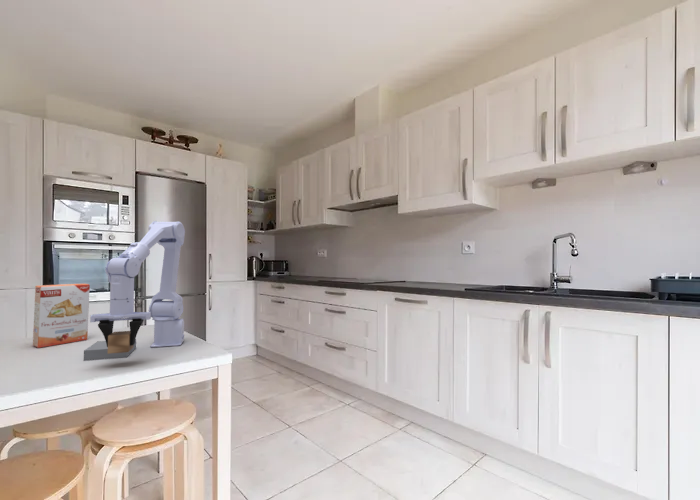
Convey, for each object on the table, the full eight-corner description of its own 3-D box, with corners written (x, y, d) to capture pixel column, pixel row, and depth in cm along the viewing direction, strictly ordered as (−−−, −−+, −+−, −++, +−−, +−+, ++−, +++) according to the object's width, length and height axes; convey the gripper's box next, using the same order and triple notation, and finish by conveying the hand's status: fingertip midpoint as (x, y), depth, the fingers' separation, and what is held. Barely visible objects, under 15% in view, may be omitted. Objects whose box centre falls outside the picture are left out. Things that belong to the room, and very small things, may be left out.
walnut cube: (133, 347, 98) (133, 330, 98) (128, 352, 94) (128, 334, 94) (113, 348, 97) (114, 331, 97) (107, 353, 92) (108, 335, 92)
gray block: (135, 349, 112) (136, 338, 112) (126, 358, 102) (126, 347, 102) (97, 351, 109) (97, 341, 109) (83, 362, 98) (83, 350, 98)
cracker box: (38, 348, 110) (40, 286, 110) (32, 346, 113) (34, 285, 113) (88, 340, 121) (90, 283, 122) (81, 337, 125) (83, 282, 125)
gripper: (86, 301, 89) (84, 351, 89) (147, 299, 94) (146, 347, 94) (96, 298, 96) (95, 344, 96) (152, 296, 101) (151, 340, 101)
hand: (121, 345), depth 95 cm, fingers closed on walnut cube, 5 cm apart
